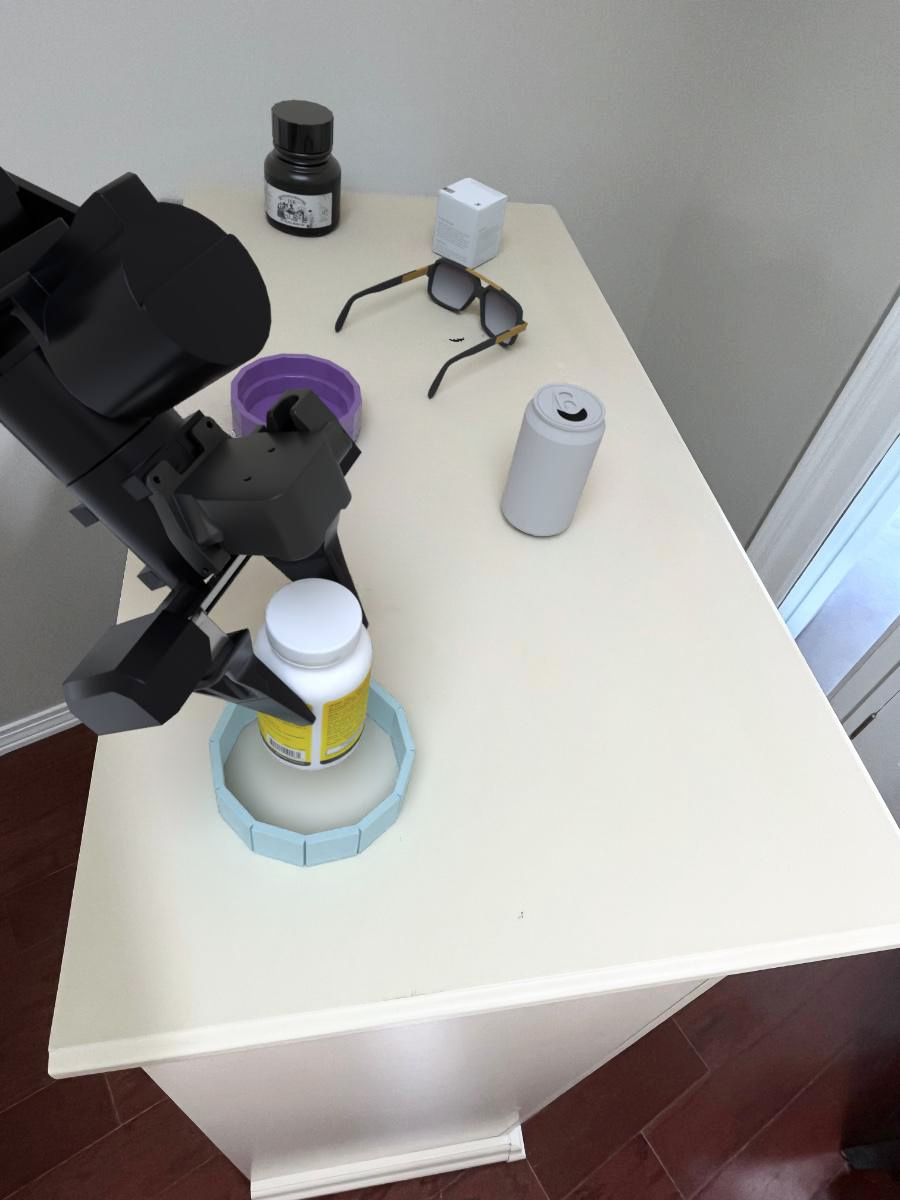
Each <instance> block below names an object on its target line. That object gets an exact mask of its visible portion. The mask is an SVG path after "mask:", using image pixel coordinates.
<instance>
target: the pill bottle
mask: <svg viewBox="0 0 900 1200" xmlns="http://www.w3.org/2000/svg"><path fill="white" fill-rule="evenodd" d="M252 647H253V652H254V654H255V655H256V656H257V657H258V658H259V659H260V660H261V661H262V662H263V663H264V664H265V665H266V666H267V667H268V668H269V669H270V670H271V671H272V672H274V673H275V674H276V675H277V676H278V677H279V678H280V679H281V680H282V681H283V682H284V683H285V684H286V685H287V686H288V687H289V688H290V689H292V690H293V691H294V692H295V693H296V694H297V695H298V696H299V697H300V698H301V699H302V700H303V701H304V702H305V704H306V705H307V706H308V707H309V709H310V710H311V711H312V712H313V714H314V715H315V716H316V721H315V722H314V724H313V725H309V726H299V725H296V724H293V723H290V722H287V721H284V720H281V719H278V718H275V717H272V716H270V715H267V714H264V713H261V712H258V711H257V713H258V718H257V725H258V728H259V729H258V730H259V735H260V737H261V739H260V740H261V741H262V744H263V745H264V748H265V749H266V750H267V751H268V753H269V754H270V755H271V756H272V757H273V758H274V759H276V760H277V761H278V762H280V763H281V764H283V765H285V766H287V767H290V768H292V769H296V770H302V771H320V770H325V769H328V768H331V767H334V766H335V765H338V764H340V763H341V762H343V761H345V760H346V759H348V757H349V756H351V754H352V753H353V752H354V751H355V750H356V748H357V747H358V745H359V744H360V741H361V740H362V737H363V733H364V729H365V726H366V725H365V724H366V717H367V713H366V709H367V700H368V693H369V685H370V676H371V675H372V665H373V657H374V656H373V655H374V654H373V653H374V652H373V644H372V639H371V636H370V634H369V632H368V629H367V630H366V628H365V626H364V625H363V624H362V611H361V607H360V604H359V602H358V600H357V599H356V597H355V596H354V595H353V594H352V593H351V592H350V591H349V590H348V589H347V588H345V587H344V586H342V585H340V584H338V583H336V582H333V581H330V580H326V579H318V578H309V579H301V580H298V581H294V582H292V581H290V582H289V583H287V584H285V585H284V586H282V587H281V588H280V589H278V590H276V592H275V593H274V594H273V595H272V596H271V597H270V600H269V602H268V603H267V606H266V609H265V621H264V622H263V623H262V625H261V626H260V627H259V629H258V631H257V634H256V635H255V639H254V642H253V645H252Z"/></svg>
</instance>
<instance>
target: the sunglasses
mask: <svg viewBox="0 0 900 1200" xmlns="http://www.w3.org/2000/svg"><path fill="white" fill-rule="evenodd" d="M423 276H426V277H427V278H428V279H427V286H426V289H427V290H426V291H427V294H428V296H429V297H430V299H431V300H432V301H434V302H435V303H436V304H438V305H440V306H441V307H444V308H446V309H448V310H450V311H454V312H463V311H465V310H466V309H468V307H469V306H470V305H471V304H472V303H473V302H474V301H475V300H476V299H478V300H479V318H480V319H479V320H480V326H481V328H482V329H483V330H484V332H485V333H486V334H487V335H488V336H489V338H488V339H486V340H484V341H482V342H479V343H478V344H476V345H474V346H471V347H470V348H468V349H466V350H463V351H462V352H460V353H458V354H456V355H455V356H453V357H451V358H449V359H448V360H447V361H445V363H443V365H442V367H441V368H440V370H439V371H438V373H437V374H436V376H435V378H434V379H433V380H432V383H431V385H430V387H429V389H428V392H427V398H428V399H430V400H431V399H432V398H434V396H435V395H436V394H437V391H438V389H439V387H440V385H441V383H442V381H443V379H444V377H445V374H446V372H447V370H448V369H449V367H450V366H452V365H453V364H454V363H457V362H458V361H460V360H462V359H465V358H467V357H471V356H474V355H476V354H479V353H481V352H483V351H485V350H487V349H489V348H491V347H493V346H495V345H500V346H503V347H509V346H513V345H514V344H515V343H516V341H517V339H518V337H519V334H520V333H522V332H524V331H526V329H527V327H528V325H529V323H528V322H527V321H525V320H524V309H523V307H522V305H521V303H520V302H519V301H518V300H516V299H515V297H513V296H512V295H511V294H510V293H509V292H507V291H506V290H504V288H503V287H501V286H500V285H498V284H497V283H495V282H493V281H492V280H490V279H488V278H487V277H485V276H484V275H482V274H481V273H479V272H477V271H475V270H474V269H470V268H469V267H466V266H464V265H462V264H460V263H458V262H455V261H453V260H450V259H448V258H445V257H440V258H438V259H436V260H435V261H434V262H433V263H430V264H428V265H425V266H422V267H420V268H417V269H414V270H411V271H408V272H405V273H402V274H400V275H397V276H394V277H392V278H390V279H387V280H385V281H382V282H380V283H377V284H375V285H372V286H370V287H368V288H365V289H363V290H359V292H356V293H355V294H352V295H351V296H350V298H349V299H348V300H347V301H346V302H345V304H344V306H343V308H342V309H341V311H340V313H339V314H338V316H337V319H336V320H335V322H334V323H335V324H334V331H335V332H336V333H339V332H341V330H342V329H343V327H344V326H345V325H344V324H345V323H346V320H347V319H348V315H349V313H350V311H351V308H352V306H353V304H354V302H355V301H357V300H358V299H360V298H363V297H365V296H368V295H371V294H376V293H377V294H378V293H381V292H383V291H386V290H388V289H391V288H393V287H396V286H400V285H402V284H404V283H408V282H410V281H413V280H415V279H417V278H420V277H423ZM482 281H483V282H484V283H487V285H486V286H483V285H482Z"/></svg>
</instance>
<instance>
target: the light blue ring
mask: <svg viewBox="0 0 900 1200" xmlns="http://www.w3.org/2000/svg"><path fill="white" fill-rule="evenodd" d="M366 715H368V716H369V717H370V718H371V719H372V720H373V721H374V722H375V723H376V724H377V725H378V726H379V727H381V729H382V730H383V731H385V732H386V733H387V734H388V736H389V737H390V739H391V744H392V747H393V751H394V754H395V759H396V761H397V762H396V763H397V766H398V769H399V771H398V774H397V777H396V781H395V784H394V787H393V791H392V793H390V794H389V795H388V796H387V797H385V798H384V799H383V800H382V801H381V802H380V803H379V804H378V805H376V806H375V808H373V809H372V810H371V811H370V812H369V813H368V814H366V815H365V816H364V817H363V818H362V819H360V820H359V821H358V822H357V823H355V824H351V825H347V826H342V827H337V828H333V829H328V830H324V831H323V830H322V831H319V832H314V833H309V834H307V835H306V834H303V833H300V832H296V831H294V830H290V829H286V828H283V827H279V826H276V825H273V824H268V823H265V822H262V821H259V820H257V819H256V818H254V816H253V815H252V814H251V813H250V812H249V810H247V809H246V807H244V805H243V804H242V803H241V802H240V801H239V800H238V799H237V797H236V796H235V795H233V793H232V792H231V791H230V790H229V789H228V788H227V785H226V778H225V777H226V776H225V769H224V768H225V765H226V763H227V762H228V759H229V757H230V755H231V752H232V750H233V748H234V746H235V744H236V742H237V740H238V738H239V736H240V735H241V732H242V730H243V729H244V728H245V727H247V726H248V725H250V724H251V723H252V722H254V721H255V720H257V719H258V713H257V711H255V710H252V709H249V708H246V707H244V706H241V705H238V704H235V703H232V702H229V701H227V704H226V705H225V708H224V709H223V711H222V713H221V716H220V717H219V719H218V721H217V723H216V725H215V727H214V729H213V731H212V733H211V735H210V737H209V739H208V741H209V742H208V749H209V757H210V766H211V773H212V774H211V775H212V782H213V790H214V794H215V800H216V805H217V809H218V813H219V814H220V818H222V820H223V821H224V822H225V823H226V824H227V825H228V826H229V827H230V829H231V830H232V831H233V832H234V834H236V836H237V837H238V838H239V839H240V840H241V841H242V842H243V843H244V844H245V846H247V848H248V849H249V850H250V851H253V852H254V853H253V854H255V855H256V854H257V855H260V856H263V857H266V858H270V859H273V860H277V861H279V862H280V861H281V862H284V863H286V864H291V865H294V866H297V867H301V868H304V867H306V868H309V867H314V866H318V865H322V864H326V863H331V862H335V861H339V860H340V861H341V860H343V859H344V860H345V859H348V858H352V857H353V858H354V857H356V856H357V855H358V854H359V855H360V854H362V853H363V852H364V851H365V850H366V849H367V848H368V847H369V846H371V845H372V844H373V843H374V842H375V841H376V840H377V839H379V837H380V836H381V835H383V834H384V833H385V832H386V831H387V830H388V829H390V827H391V826H393V825H394V824H395V823H396V820H398V818H399V814H400V811H401V808H402V806H403V805H402V804H403V801H404V798H405V794H406V792H407V788H408V784H409V782H410V778H411V773H412V769H413V765H414V761H415V756H416V746H415V743H414V740H413V739H414V738H413V735H412V732H411V729H410V724H409V722H408V719H407V715H406V711H405V709H404V707H402V704H401V703H400V702H399V701H398V700H397V699H396V698H394V696H393V695H392V694H390V692H388V691H387V690H386V689H385V688H384V687H383V686H382V685H381V684H380V683H378V681H376V680H375V679H374V678H373V677H372V676H371V675H370V685H369V693H368V700H367V709H366Z"/></svg>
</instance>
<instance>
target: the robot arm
mask: <svg viewBox="0 0 900 1200" xmlns="http://www.w3.org/2000/svg"><path fill="white" fill-rule="evenodd" d="M272 321H273V320H272V305H271V301H270V297H269V292H268V287H267V285H266V283H265V281H264V278H263V276H262V274H261V271H260V269H259V267H258V265H257V263H256V262H255V260H254V259H253V257H252V255H251V254H250V252H249V251H248V249H247V248H246V247H245V245H244V244H243V243H242V242H241V241H240V239H239V238H238V237H237V236H236V235H235V234H233V233H227V232H226V231H225V230H223V229H222V227H221V226H219V224H217V223H216V222H215V221H213V220H212V219H210V218H209V217H207V216H205V215H204V214H202V213H201V212H199V211H198V210H195V209H192V208H190V207H187V206H185V205H183V204H180V203H173V202H166V201H158V200H157V198H156V197H155V196H154V195H153V193H152V192H151V191H150V190H149V188H148V187H147V186H146V184H145V183H144V182H143V180H142V179H141V178H140V177H139V176H138V174H136V173H134V172H132V171H126V172H125V173H124V174H122V175H120V176H119V177H117V178H115V179H114V180H111V181H110V182H109V183H107V184H105V185H103V186H102V187H100V188H99V189H97V190H95V191H93V192H92V193H91V194H90V195H89V197H87V199H85V200H84V202H83V203H81V204H80V205H77V204H75V203H73V202H71V201H69V200H67V199H65V198H63V197H61V196H59V195H57V194H55V193H53V192H51V191H49V190H47V189H45V188H42V187H40V186H39V185H37V184H35V183H33V182H31V181H29V180H27V179H24V178H22V177H20V176H19V175H16V174H15V173H12V172H10V171H8V170H6V169H4V168H3V167H2V166H1V165H0V425H1V426H2V427H3V428H5V429H6V431H8V432H9V433H10V434H11V435H12V436H13V437H14V438H15V440H16V441H18V443H20V444H21V445H22V446H23V447H24V448H25V449H26V450H27V451H28V452H29V453H30V454H31V455H32V456H33V457H34V458H36V460H37V461H38V462H40V464H41V465H43V466H44V468H46V469H47V471H49V472H50V473H51V474H52V475H53V476H54V477H55V478H56V480H58V481H59V482H60V483H61V484H62V485H64V487H65V488H66V490H68V491H69V492H70V493H71V494H72V495H73V496H74V497H75V498H76V499H77V500H78V501H77V502H76V503H75V504H74V505H73V506H72V507H71V508H70V509H69V510H68V512H69V513H70V514H71V515H72V516H73V517H74V518H75V520H77V521H78V522H79V523H80V524H81V525H82V526H83V527H84V528H86V529H87V528H88V527H90V526H92V525H94V524H96V523H98V522H100V523H102V525H104V526H105V527H106V528H107V529H108V530H109V531H110V532H111V533H112V534H113V535H114V536H115V537H116V538H117V539H118V540H119V541H120V542H121V543H122V544H123V545H124V546H126V548H127V549H129V551H131V553H133V555H134V556H135V557H136V558H138V559H139V561H141V562H142V563H143V565H144V567H142V569H141V570H140V571H139V572H138V574H137V575H136V576H135V577H136V578H138V580H140V582H141V583H142V584H143V585H144V586H146V588H148V590H150V591H151V592H154V591H156V590H159V589H162V588H165V587H167V588H168V589H170V590H171V591H170V592H168V594H167V595H166V596H165V598H164V599H163V600H162V602H160V604H159V605H158V607H156V609H155V610H154V611H153V612H149V613H148V614H144V615H141V616H138V617H135V618H132V619H129V620H126V621H122V622H120V623H117V624H114V625H111V626H109V628H108V629H107V630H106V631H105V633H103V635H102V636H101V637H100V639H99V640H98V641H97V642H96V643H95V644H94V645H93V647H92V648H91V649H90V650H89V652H88V653H87V654H86V655H85V656H84V657H83V658H82V660H80V662H79V663H78V664H77V666H75V668H74V669H73V670H72V671H71V673H69V675H68V676H67V677H66V678H65V680H64V681H63V682H62V683H61V687H62V688H61V689H62V691H63V695H64V701H65V703H66V706H67V708H68V710H69V713H70V714H71V715H73V716H74V717H75V718H76V719H78V720H79V721H80V722H81V723H82V724H84V726H86V727H87V728H89V729H90V730H91V731H92V732H93V733H95V734H96V735H97V736H98V737H100V736H107V735H113V734H118V733H124V732H130V731H135V730H137V731H138V730H142V729H148V728H155V727H160V726H163V725H165V724H166V723H167V722H168V721H170V720H171V719H173V717H175V716H176V715H177V714H178V713H179V712H180V711H181V710H182V708H183V707H184V705H185V704H186V703H187V701H188V699H189V698H190V696H191V695H192V694H196V695H197V694H198V695H201V696H202V695H203V696H206V697H211V698H215V699H220V700H223V701H226V702H228V701H229V702H232V703H235V704H238V705H241V706H244V707H246V708H249V709H252V710H255V711H258V712H261V713H264V714H267V715H270V716H272V717H275V718H278V719H281V720H284V721H287V722H290V723H293V724H296V725H299V726H309V725H313V724H314V722H315V721H316V716H315V715H314V714H313V712H312V711H311V710H310V709H309V707H308V706H307V705H306V704H305V702H304V701H303V700H302V699H301V698H300V697H299V696H298V695H297V694H296V693H295V692H294V691H293V690H292V689H290V688H289V687H288V686H287V685H286V684H285V683H284V682H283V681H282V680H281V679H280V678H279V677H278V676H277V675H276V674H275V673H274V672H272V671H271V670H270V669H269V668H268V667H267V666H266V665H265V664H264V663H263V662H262V661H261V660H260V659H259V658H258V657H257V656H256V655H255V654H254V652H253V641H252V636H251V630H250V629H249V628H248V627H246V628H242V629H238V630H234V631H231V632H227V633H226V632H225V631H223V630H222V628H221V627H219V625H218V624H216V622H215V621H213V619H211V617H209V614H210V613H211V612H212V610H213V609H214V607H215V606H216V605H217V603H218V602H219V601H220V599H221V598H222V597H223V595H224V594H225V593H226V592H227V590H228V589H229V588H230V586H231V585H232V584H233V582H234V581H235V579H236V578H237V577H238V575H239V574H240V573H241V571H242V570H243V569H244V568H245V567H246V565H247V563H248V562H249V561H250V559H251V558H252V557H253V556H256V557H257V556H258V557H264V559H266V560H267V561H268V562H269V563H270V564H271V565H272V566H274V567H275V569H277V570H278V571H279V572H281V573H282V575H284V576H285V577H287V579H288V580H290V582H294V581H298V580H301V579H309V578H318V579H326V580H330V581H333V582H336V583H338V584H340V585H342V586H344V587H345V588H347V589H348V590H349V591H350V592H351V593H352V594H353V595H354V596H355V597H356V599H357V600H358V602H359V604H360V607H361V611H362V624H363V625H364V626H365V628H366V630H367V631H368V629H369V626H370V622H369V620H368V617H367V615H366V612H365V609H364V607H363V605H362V601H361V599H360V596H359V593H358V591H357V587H356V585H355V582H354V580H353V577H352V575H351V572H350V570H349V567H348V564H347V561H346V558H345V555H344V552H343V548H342V545H341V541H340V538H339V535H338V534H339V533H338V525H339V522H340V516H341V511H342V510H346V509H347V508H348V506H349V505H350V503H351V501H352V499H353V494H352V492H351V490H350V487H349V485H348V482H347V480H346V478H345V477H346V476H347V474H348V473H349V471H350V470H351V469H352V468H353V466H354V464H355V463H356V461H357V460H358V459H359V457H360V456H361V455H362V452H363V451H362V449H360V448H359V447H358V445H357V444H356V443H355V441H353V440H352V439H351V438H350V436H349V435H348V434H347V432H346V431H345V430H344V428H343V427H342V426H341V425H340V422H339V420H338V418H337V417H336V416H335V415H334V413H333V412H332V411H331V410H330V409H329V408H328V407H327V406H326V405H325V404H324V403H323V401H322V400H321V399H320V398H319V397H318V396H317V395H316V394H315V393H314V392H313V391H312V390H311V389H310V388H306V389H290V390H286V391H285V392H284V393H283V394H282V395H281V396H280V397H279V399H278V400H277V401H276V402H275V403H274V404H273V405H272V406H271V408H270V409H269V410H268V411H267V414H266V426H265V425H264V424H261V425H257V426H256V427H255V428H254V430H253V431H252V432H251V433H250V434H249V435H248V436H246V437H240V438H238V437H233V436H232V435H230V434H229V433H228V432H226V431H225V430H224V429H223V428H222V427H221V426H220V425H219V424H218V422H217V421H216V420H215V419H214V418H213V417H211V416H209V415H205V413H204V412H202V410H201V409H198V410H196V411H194V412H193V413H192V412H191V414H189V415H187V416H186V417H184V418H183V417H182V415H180V413H179V412H178V411H177V410H176V409H175V407H176V406H178V405H180V404H182V403H183V402H184V401H186V400H188V399H189V398H191V397H193V396H195V395H196V394H198V393H199V392H201V391H203V390H204V389H206V388H207V387H209V386H211V385H212V384H214V383H215V382H217V381H218V380H220V379H222V378H224V377H225V376H227V375H229V374H230V373H231V372H233V371H235V370H237V369H239V368H240V367H241V366H243V365H245V364H246V363H248V362H249V361H251V360H253V359H255V358H256V357H257V356H258V355H259V354H260V353H261V352H262V351H263V349H264V348H265V346H266V344H267V341H268V340H269V337H270V333H271V332H270V331H271V327H272ZM208 578H209V579H208ZM206 579H208V580H207V581H206Z"/></svg>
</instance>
